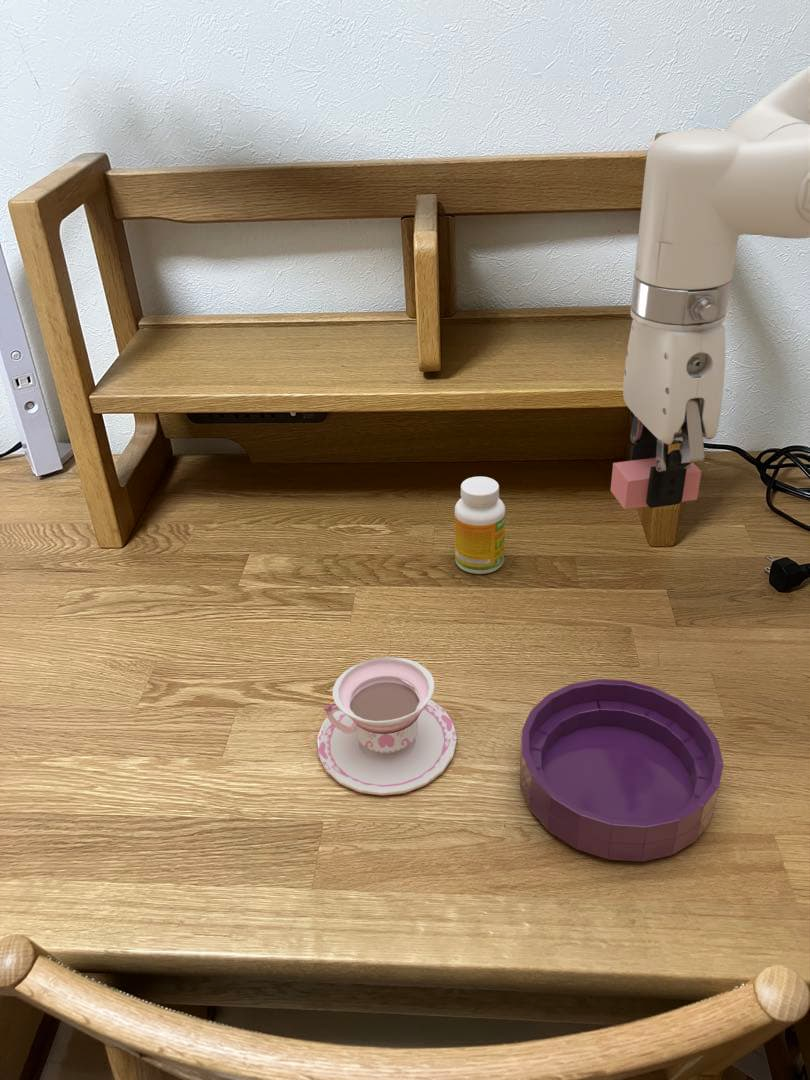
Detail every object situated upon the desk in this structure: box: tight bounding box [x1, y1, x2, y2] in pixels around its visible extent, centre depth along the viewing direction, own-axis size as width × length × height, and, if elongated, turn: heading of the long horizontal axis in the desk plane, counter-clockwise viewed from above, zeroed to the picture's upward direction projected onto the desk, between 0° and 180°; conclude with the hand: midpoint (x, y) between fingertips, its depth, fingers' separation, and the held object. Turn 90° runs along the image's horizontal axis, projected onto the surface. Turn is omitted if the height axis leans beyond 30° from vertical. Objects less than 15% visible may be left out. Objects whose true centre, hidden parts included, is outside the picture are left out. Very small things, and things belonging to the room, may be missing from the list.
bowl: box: [519, 678, 724, 862], centre depth 71 cm, size 15×15×4 cm
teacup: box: [316, 656, 458, 796], centre depth 75 cm, size 12×12×6 cm
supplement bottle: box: [454, 476, 506, 575], centre depth 96 cm, size 5×5×10 cm
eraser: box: [610, 458, 702, 511], centre depth 82 cm, size 7×4×3 cm, turn 101°
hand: (653, 491), depth 83 cm, fingers closed on eraser, 3 cm apart
